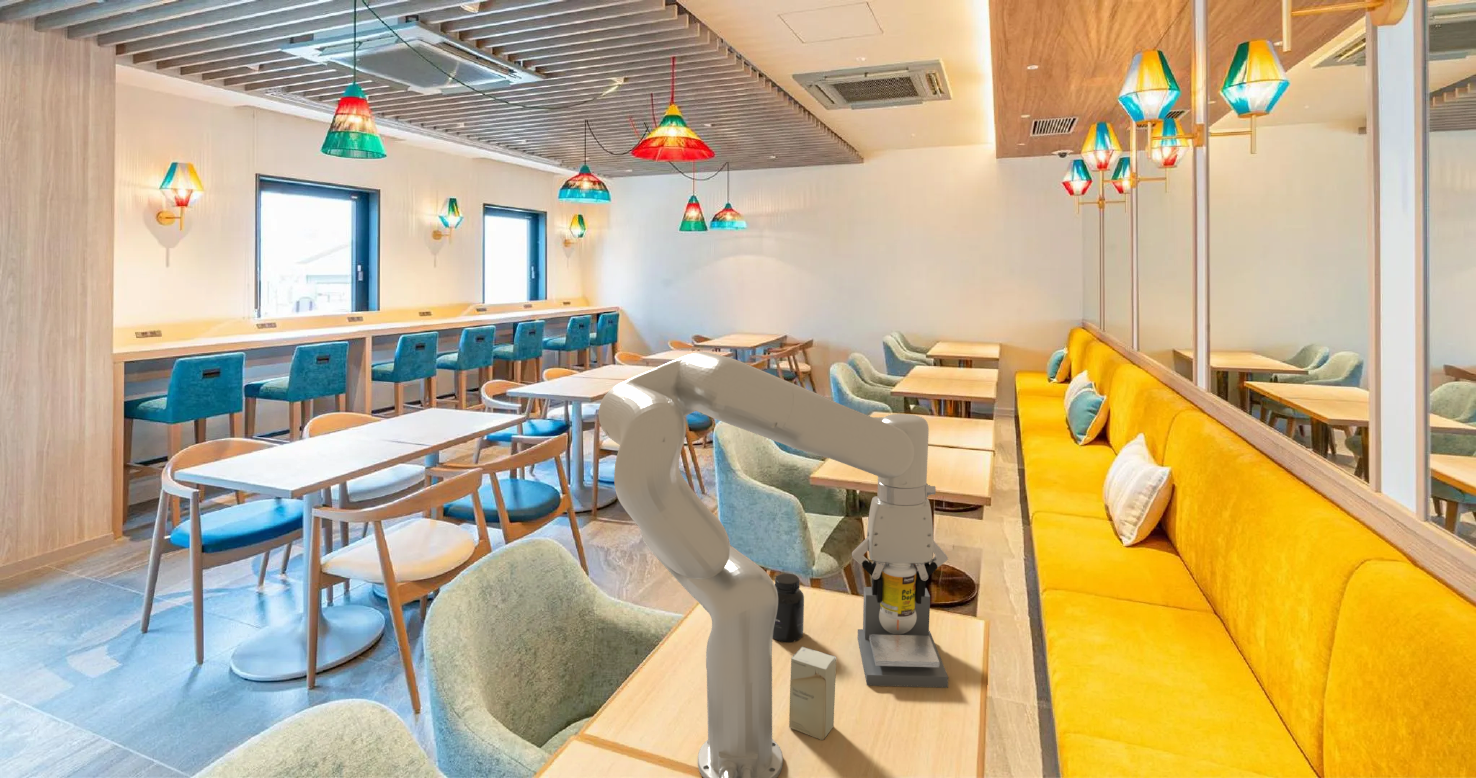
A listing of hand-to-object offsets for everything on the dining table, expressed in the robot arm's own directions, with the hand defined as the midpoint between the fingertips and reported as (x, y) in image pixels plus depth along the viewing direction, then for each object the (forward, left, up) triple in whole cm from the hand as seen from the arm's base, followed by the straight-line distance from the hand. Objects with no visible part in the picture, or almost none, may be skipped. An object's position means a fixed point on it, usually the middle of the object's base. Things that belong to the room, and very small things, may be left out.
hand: (897, 598), depth 116 cm
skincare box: (-6, +14, -19) cm, 25 cm away
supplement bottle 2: (0, 0, -3) cm, 3 cm away
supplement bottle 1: (+23, +18, -19) cm, 35 cm away
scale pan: (+11, -3, -17) cm, 20 cm away
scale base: (+14, -3, -19) cm, 24 cm away
